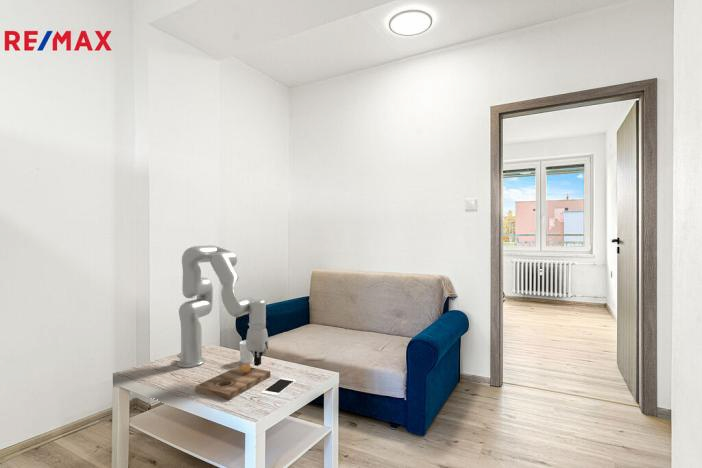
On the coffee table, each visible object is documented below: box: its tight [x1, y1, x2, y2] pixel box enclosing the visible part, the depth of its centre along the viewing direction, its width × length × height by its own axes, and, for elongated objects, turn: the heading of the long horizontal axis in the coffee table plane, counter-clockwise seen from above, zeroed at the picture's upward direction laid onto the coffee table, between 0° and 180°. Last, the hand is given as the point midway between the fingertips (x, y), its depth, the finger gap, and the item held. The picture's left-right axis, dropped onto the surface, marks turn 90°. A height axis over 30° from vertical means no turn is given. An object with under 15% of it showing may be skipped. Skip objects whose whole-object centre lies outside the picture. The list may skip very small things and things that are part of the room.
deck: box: [195, 364, 271, 401], centre depth 156 cm, size 26×18×2 cm
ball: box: [241, 363, 251, 373], centre depth 163 cm, size 4×4×4 cm
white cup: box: [239, 339, 254, 365], centre depth 184 cm, size 8×8×10 cm
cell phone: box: [260, 377, 297, 396], centre depth 154 cm, size 8×16×1 cm, turn 160°
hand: (257, 364), depth 170 cm, fingers closed
